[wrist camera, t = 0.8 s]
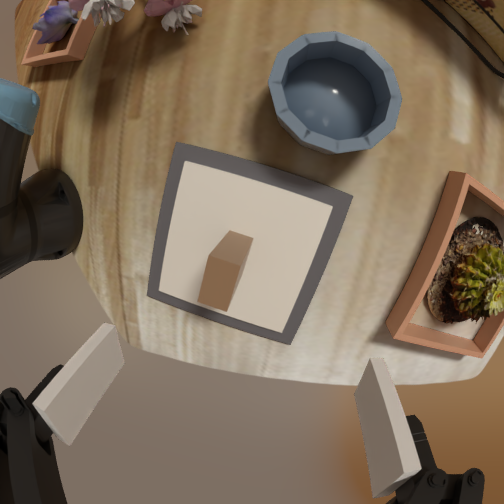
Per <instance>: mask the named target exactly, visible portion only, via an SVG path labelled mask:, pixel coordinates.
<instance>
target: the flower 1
mask: <svg viewBox="0 0 504 504" xmlns="http://www.w3.org/2000/svg"><path fill="white" fill-rule="evenodd" d="M57 3H58V6H48V7H49V8H50V9H47V10H46V11H45V13H43V14H42V15H40V17H41V16H43V15H44V17H43V18H41V19H40V20H39V22H38V23H35V24H34V25H33V29H35V30H38V31H42V37H41V38H40V39H39V41H38V43H37V44H45V43H52V42H55V41H59V40H61V39H62V38H63V37H64V36H65V34H66V32H67V30H68V29H69V27H70V25H71V24H72V23H74V24H77V22H78V20H79V19H77V11H75V10H73V9H71V8H70V7H69V2H67V1H57Z"/></svg>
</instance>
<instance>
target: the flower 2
mask: <svg viewBox="0 0 504 504" xmlns="http://www.w3.org/2000/svg"><path fill="white" fill-rule="evenodd" d="M68 1H69V7H70V8H71V9H73V10H75V11H80V10H83V12H82V15H81V18H82V19H83V20H84V21H85V20H86V18H87V17H88V16H89V14H92V18H93V20H94V26H95V27H96V26H97V25H98V24H99V23H100V18H99V14H100V16H101V17H102V19H103V21H104V26H103V27H105V25H106V23H105V22H107V21H108V20H109V24H110V25H111V23H112V20H111V17H112V18H113V19H114V20H115V21H116V22H118V21H119V20H121V19H122V18H123V16H124V12H122V11H120V8H123V9H126V10H130V9H131V8H132V6H133V5H134V4H135V2H134V0H68ZM190 1H192V0H165V1H164V0H149V1H148V2H147V4H146V7H145V9H144V12H145V13H146V15H147V16H154V17H156V16H161V15H164V14H166V15H165V16H164V18H163V19H162V21H161V23H162V27H163V28H164V29H165V30H166V31H168V29H169V26H170V27H172V28H173V30H174V32H175V31H176V30H175V29H176V26H177V28H178V26H179V27H181V29H182V27H183V29H184V31H185V34H186V35H189V34H188V32H187V31H186V29H185V27H184V25H183V23H182V22H184V23H187V24H189V23H193V22H192V20H191V18H192V17H191V15H190V14H196V15H198V16H200V17H202V9H201V8H200V7H198V6H197V5H186V4H187V3H189V2H190ZM106 10H107V11H106Z"/></svg>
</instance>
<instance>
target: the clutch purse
mask: <svg viewBox="0 0 504 504" xmlns="http://www.w3.org/2000/svg"><path fill="white" fill-rule="evenodd" d="M422 1H423V2H424V3H425V4H426V5H428V6H429V7H430V8H431V9H432V10H433V11H434V12H435V13H436V14H437V15H438V16H439V17H440V18H441V19H442V20H443V21H444V22H445V23H446V24H447V25H448V26H449V27H450V28H451V29H452V30H454V31H455V32H456V33H457V34H458V35H459V36H460V37H461V38H462V40H463V41H464V42H465V43H466V44H467V45H468V46H469V47H470V48H471V49H472V50H473V51H474V52H475V53H476V54H477V55H478V56H479V57H480V58H481V60H482V61H483V62H484V63H485V64H486V65H487V66H488V67H489V68H490V69H491V70H492V71H493V72H494V73H496V74H497V75H499V76H500V77H502V78H504V74H503V73H502V72H500V71H498V70H497V69H496V68H494V67H493V66H492V65H491V64H490V63H489V62H488V61H487V60H486V58H485V57H484V56H483V55H482V54H481V53H480V52H479V51H478V50H477V49H476V48H475V47H474V46H473V45H472V44H471V43H470V42H469V41H468V40H467V39H466V38H465V37H464V36H463V35H462V34H461V33H460V32H459V31H458V30H457V29H456V28H455V27H454V26H453V25H452V24H451V23H450V22H449V21H448V20H447V19H446V18H445V16H444V15H443V14H442V13H440V12H439V11H438V10H437V9H436V8H435V7H434V6H433V5H432V4H431V3H430V2H429V1H428V0H422ZM445 1H446V2H447V3H448V4H449V5H450V6H452V7H453V8H454V9H455V10H456V11H457V12H458V13H459V14H460V15H461V16H462V17H463V18H464V19H465V20H466V21H467V22H468V23H469V24H470V25H471V26H472V27H473V28H474V29H475V30H476V31H477V32H478V33H479V34H480V35H481V36H482V37H483V38H484V40H485V41H486V42H487V43H488V44H489V45H490V46H491V48H492V49H493V50H494V51H495V52H496V54H497V55H498V56H499V57H500V59H501V60H502V61H503V62H504V0H445Z"/></svg>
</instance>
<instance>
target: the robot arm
mask: <svg viewBox="0 0 504 504" xmlns="http://www.w3.org/2000/svg"><path fill="white" fill-rule="evenodd" d="M39 106H40V99H39V96H38V94H37V93H36V92H35V91H33V90H31V89H29V88H27V87H25V86H22V85H19V84H17V83H14V82H11V81H8V80H5V79H2V78H0V279H1V278H3V277H4V276H6V275H8V274H9V273H11V272H13V271H15V270H16V269H18V268H20V267H21V266H23V265H25V264H27V263H29V262H31V261H37V260H54V259H59V258H62V257H64V256H66V255H68V254H69V253H71V252H72V251H73V250H74V249H75V248H76V246H77V245H78V243H79V240H80V237H81V233H82V226H83V214H82V206H81V201H80V197H79V194H78V192H77V189H76V187H75V185H74V183H73V182H72V180H71V179H70V178H69V176H68V175H67V174H65V173H64V172H63V171H61V170H59V169H47V170H42V171H39V172H37V173H35V174H34V175H32V176H31V177H29V178H28V179H26V180H25V181H23V182H22V183H21V178H22V173H23V168H24V163H25V159H26V154H27V150H28V146H29V143H30V139H31V135H33V133H34V129H33V128H34V124H35V121H36V117H37V114H38V110H39ZM124 364H125V362H124V358H123V354H122V351H121V347H120V343H119V339H118V335H117V330H116V326H115V325H112V324H107V323H103V324H102V325H101V327H100V328H99V329H98V330H97V331H96V332H95V333H94V334H93V335H92V336H91V337H90V338H89V339H88V340H87V341H86V343H85V344H84V345H83V346H82V347H81V348H80V349H79V350H78V351H77V352H76V353H75V355H74V356H73V357H72V358H71V359H70V360H69V361H68V362H67V363H66V365H65V366H63V365H58V366H57V367H55V368H53V369H52V370H51V371H50V372H49V373H48V374H47V376H46V377H45V378H44V379H43V380H42V382H40V383H39V385H38V386H37V387H36V388H35V389H34V390H33V391H32V393H31V394H30V395H29V396H28V397H27V399H26V400H24V398H23V397H22V395H21V393H20V392H19V391H18V390H17V389H16V388H7V389H5V390H4V391H2V393H1V394H0V504H67V501H66V497H65V494H64V490H63V487H62V483H61V479H60V475H59V471H58V466H57V461H56V456H55V451H54V445H53V440H52V437H51V435H52V434H53V433H54V434H55V436H56V437H57V438H58V439H59V440H60V441H63V442H64V443H66V444H67V445H69V446H70V445H71V444H72V442H73V441H74V439H75V437H76V436H77V434H78V433H79V431H80V429H81V428H82V426H83V425H84V423H85V422H86V420H87V418H88V417H89V415H90V414H91V412H92V411H93V409H94V408H95V406H96V405H97V403H98V402H99V400H100V399H101V397H102V396H103V394H104V393H105V391H106V390H107V388H108V387H109V385H110V384H111V382H112V381H113V380H114V378H115V377H116V375H117V374H118V372H119V371H120V369H121V368H122V366H123V365H124ZM354 396H355V400H356V404H357V409H358V414H359V419H360V424H361V429H362V434H363V439H364V445H365V450H366V456H367V462H368V468H369V475H370V480H371V488H372V496H373V498H378V497H383V496H388V495H390V494H391V493H393V492H394V491H396V496H395V497H394V498H392V499H391V500H389V501H388V502H387V503H386V504H482V498H483V490H484V481H485V480H484V474H483V472H482V471H481V470H480V469H477V468H471V469H469V470H468V471H466V472H465V473H464V474H446V473H445V471H443V470H441V469H438V468H437V466H436V464H435V461H434V458H433V455H432V452H431V449H430V446H429V443H428V440H427V437H426V434H425V433H424V429H423V426H422V423H421V422H420V420H419V419H418V418H417V417H416V416H415V415H410V416H405V414H404V411H403V408H402V406H401V403H400V400H399V397H398V394H397V392H396V389H395V386H394V383H393V381H392V378H391V376H390V373H389V371H388V368H387V366H386V363H385V361H384V358H370V359H369V362H368V364H367V366H366V369H365V371H364V373H363V376H362V378H361V380H360V383H359V385H358V387H357V389H356V391H355V393H354Z"/></svg>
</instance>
